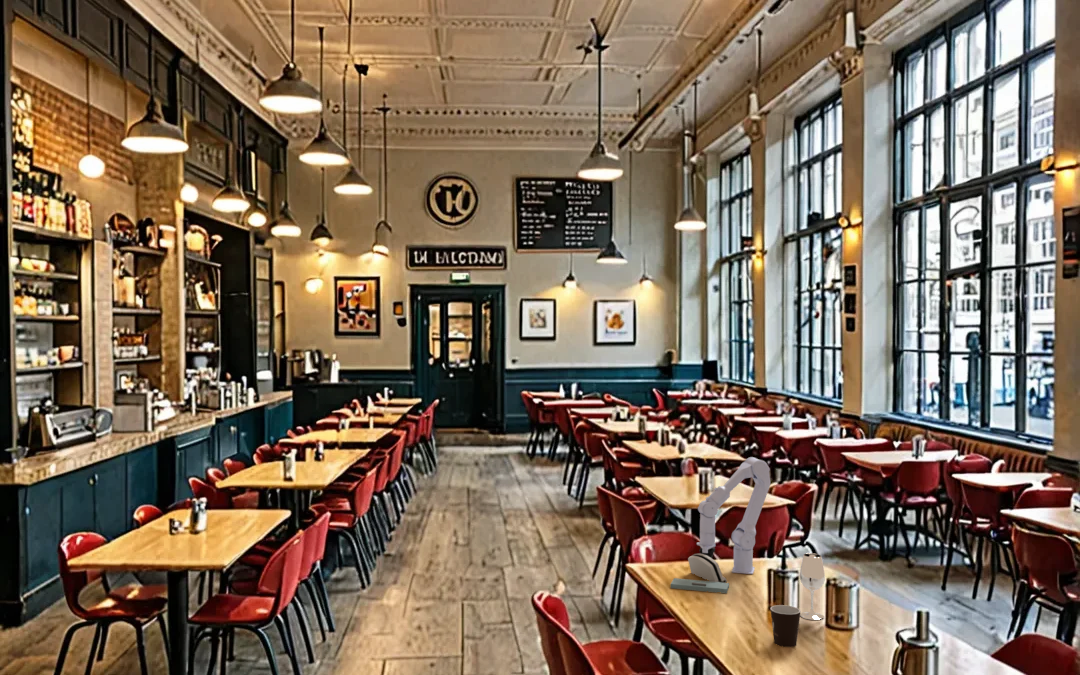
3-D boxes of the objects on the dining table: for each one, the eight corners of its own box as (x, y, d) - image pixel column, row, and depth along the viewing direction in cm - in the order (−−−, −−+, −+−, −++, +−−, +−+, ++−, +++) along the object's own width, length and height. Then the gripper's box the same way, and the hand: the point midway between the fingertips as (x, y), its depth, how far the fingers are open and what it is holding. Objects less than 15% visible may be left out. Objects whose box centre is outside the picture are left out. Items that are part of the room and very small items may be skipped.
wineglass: (828, 616, 283) (829, 555, 283) (818, 622, 278) (818, 559, 278) (806, 611, 289) (806, 551, 289) (795, 616, 283) (795, 555, 283)
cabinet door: (674, 582, 322) (674, 576, 322) (729, 587, 316) (729, 581, 316) (670, 588, 314) (670, 582, 314) (726, 593, 308) (726, 587, 308)
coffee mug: (795, 650, 252) (795, 616, 252) (766, 644, 257) (766, 610, 257) (806, 638, 262) (806, 605, 262) (778, 633, 267) (778, 600, 267)
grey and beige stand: (728, 582, 322) (720, 558, 320) (718, 588, 320) (710, 563, 319) (701, 571, 337) (694, 548, 336) (692, 576, 335) (684, 553, 334)
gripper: (699, 527, 344) (699, 561, 344) (694, 535, 330) (694, 571, 330) (717, 528, 342) (717, 563, 342) (713, 536, 328) (712, 572, 328)
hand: (707, 567), depth 336 cm, fingers closed
